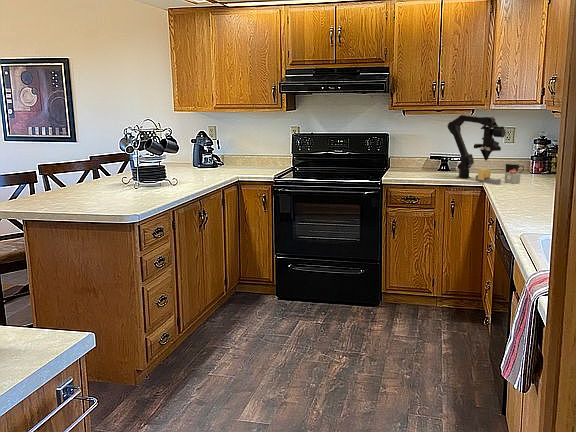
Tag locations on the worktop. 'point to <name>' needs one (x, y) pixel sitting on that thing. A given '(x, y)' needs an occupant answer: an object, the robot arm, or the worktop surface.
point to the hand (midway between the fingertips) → (486, 160)
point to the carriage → (483, 173)
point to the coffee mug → (512, 167)
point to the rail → (489, 180)
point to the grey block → (512, 178)
